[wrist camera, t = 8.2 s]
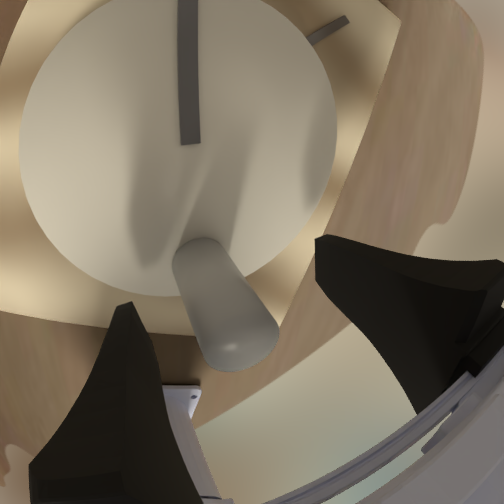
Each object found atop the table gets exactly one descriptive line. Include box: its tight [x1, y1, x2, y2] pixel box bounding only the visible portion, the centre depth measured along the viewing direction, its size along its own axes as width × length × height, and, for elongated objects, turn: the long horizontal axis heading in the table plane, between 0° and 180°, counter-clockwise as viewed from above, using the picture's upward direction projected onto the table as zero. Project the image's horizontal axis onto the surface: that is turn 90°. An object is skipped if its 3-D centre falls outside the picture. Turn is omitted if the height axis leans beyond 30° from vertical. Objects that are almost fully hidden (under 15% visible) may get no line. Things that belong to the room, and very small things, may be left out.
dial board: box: [0, 0, 401, 336], centre depth 12 cm, size 22×18×2 cm
